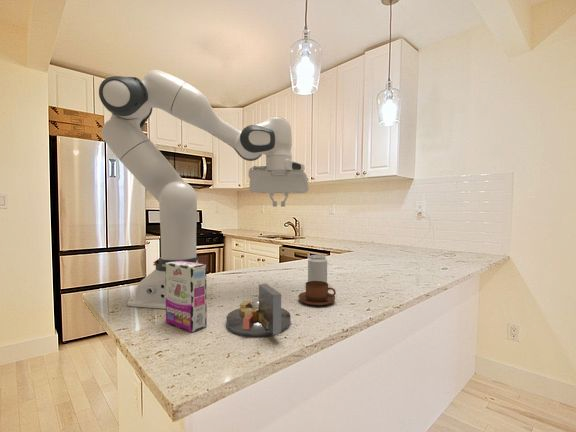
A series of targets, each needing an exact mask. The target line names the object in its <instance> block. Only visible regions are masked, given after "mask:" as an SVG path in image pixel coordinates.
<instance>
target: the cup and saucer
mask: <svg viewBox="0 0 576 432" xmlns="http://www.w3.org/2000/svg"><path fill="white" fill-rule="evenodd" d="M329 290H331V291H333V293H330V292H329ZM336 294H337V293H336V289H335V288H333V287H329V283H328V282H327V283H326V282H323V281H309V282H308V281H307V282H305V291H304V292H302V293H299V294H298V300H299V301H301V302H302V303H304V304H306V305H312V306H325V305H326V306H327V305H330V304H332V303H334V301H335V300H336Z"/></svg>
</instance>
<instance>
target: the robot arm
mask: <svg viewBox="0 0 576 432" xmlns="http://www.w3.org/2000/svg"><path fill="white" fill-rule="evenodd" d="M98 97H99V100H100V102H101V103H102V105H103V106H104V108H105V109H106V110H107V111H108V112H110V113H111V117H110V118H109V119H108V120H107V121H106V122H104V124H103V125H102V127H101V136H102V138H103V140H104V141H105V143H106V144H107V146H108V147H109V149H110V150H111V152H112V153H113V154H114V156H115V157H116V158H117V159H118V160H119V161H120V163H121V164H122V165H124V167H125V168H126V170H128V171H129V172H130V174H131V175H132V176H133V177H134V178H135V179H136V180H137V181H138V182H139V183H140V185H142V186H143V187H144V188H145V189H146V191H148V192H149V194H150V195H151V196H152V197H153V198H154V199H155V200H156V201H157V202H158V204H159V205H158V207H159V209H158V210H159V224H160V225H159V228H160V257H159V258H157V260H155V261H154V262H152V263H153V265H152V266H154V267H155V269H153V271H152V272H150V273H149V274H147V276H145V277H144V278H143V279H142V280H140V282H138V285H137V286H136V289H135V294H134V295H133V296H131V297H130V298H129V299H128V301H127V307H133V308H134V307H135V308H136V307H138V308H149V309H150V308H151V309H162V310H163V309H165V310H166V264H165V263H168V262H174V261H186V262H193V263H199V260H198V258H199V257H198V256H197V226H198V225H197V220H198V219H197V217H198V216H197V215H198V214H197V212H198V210H197V209H198V196H197V192H196V190H195V189H194V188H193V186H192V185H190V184H189V183H188V182H186V181H185V180H184V179H183V178H182V176H181V175H180V174H179V172H178V171H176V169H175V168H174V166H173V165H172V163H170V162H169V160H168V159H167V158H166V157H165V156H164V154H162V152H161V151H160V150H159V149H158V148H157V146H156V145H155V144H154V143H153V141H152V140H151V139H150V138H149V137H148V136H147V135H146V134H145V132H144V131H143V130H142V127H144V125H145V123H146V122H147V121H148V120H149V118H150V117H151V115H152V114H153V109H155V108H157V109H160V110H162V111H164V112H166V113H168V115H169V114H170V115H171V116H172V117H175V118H177V119H179V120H181V121H183V122H185V123H187V124H189V125H192V126H194V127H196V128H199V129H201V130H203V131H205V132H207V133H208V134H210V135H212V136H214V137H215V138H217V139H218V140H220V141H222V142H223V143H225V144H227V145H228V146H229V147H231V148H233V150H234V151H235V153H236V154H237V155H238V157H240V158H241V159H243V160H245V161H249V162H254V161H256V160H258V159H260V158H261V157H262V156H263V155H265V161H266V162H265V166H262V165H261V166H257V165H253V167H251V168H249V169H248V177H249V187H248V189H249V192H250V193H252V194H268V196H269V198H270V200H271V202H272V207H274V208H275V207H276V208H277V207H278V201H275V200H274V198H273V197H274V195H275V194H284V195H283V196H284V197H285V198H284V199H283V201H282V200H281V201H280V207H283V208H284V207H286V202H287V201H288V198H289V194H307V193H308V191H309V180H308V175H307V173H306V172H305V169H306V168H305V164H304V163H301V162H300V163H299V162H298V161H294V160H293V155H292V153H291V152H292V146H293V135H292V127H291V124H290V122H289V121H288V120H287V119H285V118H283V117H280V116H271V117H269V118H267V119H266V120H265V121H262V122H259V123H256V124H249V125H247V126H245V127H244V128H243V129H242V130H239V129H237V128H236V127H235V126H233V125H231V124H230V123H228V122H226V121H225V120H223V119H222V118H220V116H219V115H218V114H217V113H216V112H215V111H214V109H213V107H212V105H211V103H210V102H209V100H208V98H207V97H206V95H205V94H204V93H202V92H201V91H200V90H199V89H198V88H196V86H195V87H194V86H193V85H192V84H190V83H188V82H186V81H185V80H183V79H181V78H179V77H177V76H174V75H173V74H170V73H168V72H165V71H163V70H160V69H152V70H150V71H149V72H147V73H146V74H145V76H144V77H143V79H142V80H141V79H140V78H139V77H136V76H121V75H120V76H119V75H116V76H114V75H113V76H109V77H106V78H104V80H103V81H102V82H101V83H100V85H99V88H98Z"/></svg>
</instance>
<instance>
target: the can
mask: <svg viewBox="0 0 576 432" xmlns="http://www.w3.org/2000/svg"><path fill="white" fill-rule="evenodd" d="M309 281H323V282H326V283H328V260H327V258H326V255H322V254H311V255H310V256H309V258H308V259H307V282H309Z"/></svg>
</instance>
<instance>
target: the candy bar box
mask: <svg viewBox="0 0 576 432" xmlns="http://www.w3.org/2000/svg"><path fill="white" fill-rule="evenodd" d="M165 264H166V309H165V324H166V325H170V326H172V327H176V328H179V329H181V330H184V331H187V332H189V333H195V332H198V331H199V330H200V331H201V330H202V329H204V328H206V327H207V325H208V324H207V322H208V321H207V318H208V317H207V313H208V312H207V264H205V263H200V262H198V263H193V262H186V261H174V262H168V263H165Z"/></svg>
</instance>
